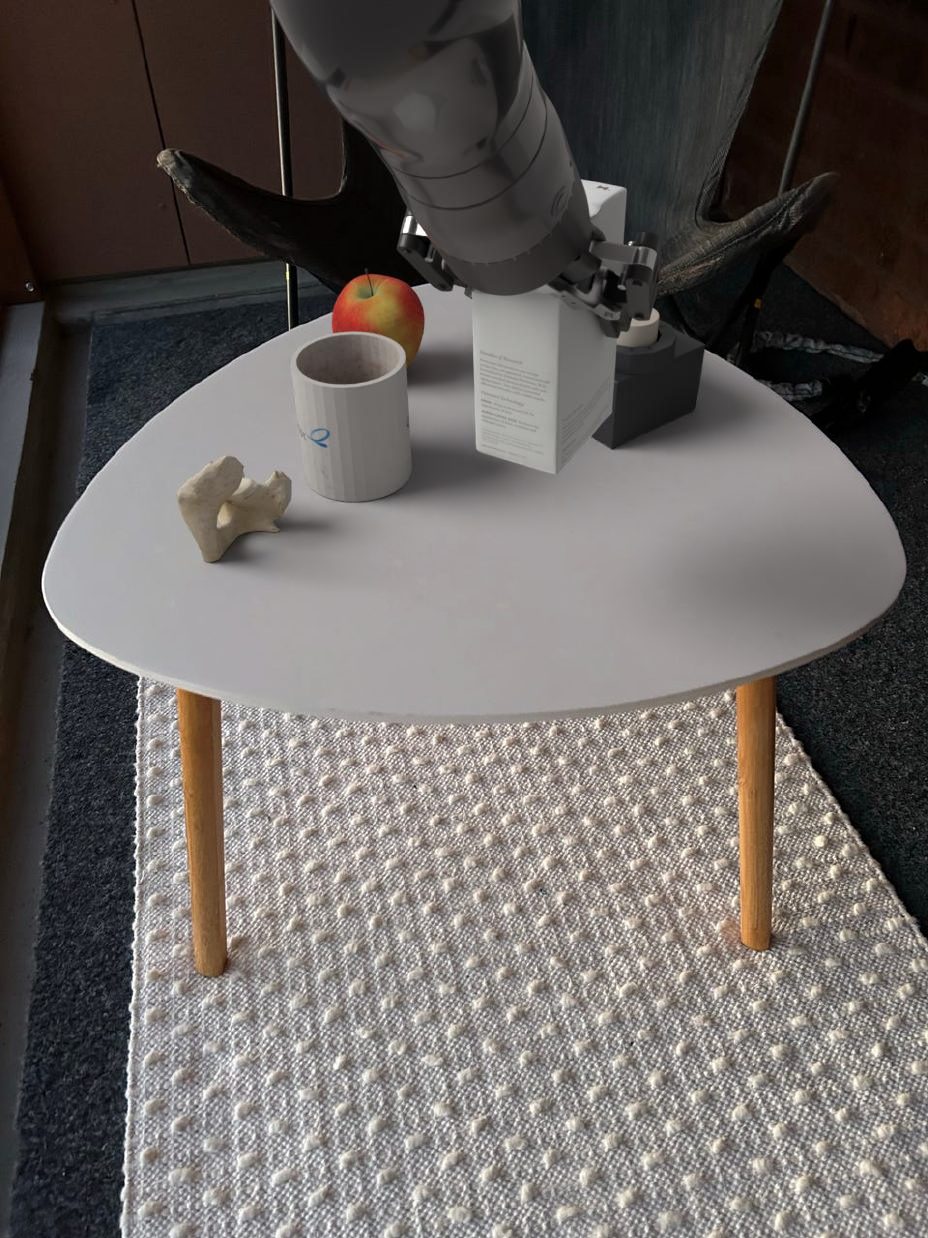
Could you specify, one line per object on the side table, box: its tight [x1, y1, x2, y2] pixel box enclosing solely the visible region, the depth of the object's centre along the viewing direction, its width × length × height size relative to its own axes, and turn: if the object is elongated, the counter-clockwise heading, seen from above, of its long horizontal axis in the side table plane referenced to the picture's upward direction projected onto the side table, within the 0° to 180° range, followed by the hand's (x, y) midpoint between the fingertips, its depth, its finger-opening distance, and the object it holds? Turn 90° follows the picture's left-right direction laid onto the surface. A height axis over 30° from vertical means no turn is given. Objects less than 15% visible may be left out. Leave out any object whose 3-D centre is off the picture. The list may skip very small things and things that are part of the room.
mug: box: [289, 332, 413, 503], centre depth 86 cm, size 12×9×10 cm
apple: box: [331, 268, 426, 369], centre depth 96 cm, size 8×8×10 cm
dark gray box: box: [591, 319, 706, 450], centre depth 94 cm, size 17×10×8 cm, turn 37°
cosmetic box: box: [471, 179, 628, 475], centre depth 64 cm, size 8×6×15 cm
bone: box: [176, 454, 293, 563], centre depth 79 cm, size 9×6×10 cm
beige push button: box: [617, 307, 660, 347], centre depth 87 cm, size 4×4×2 cm
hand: (560, 313), depth 65 cm, fingers closed on cosmetic box, 6 cm apart
